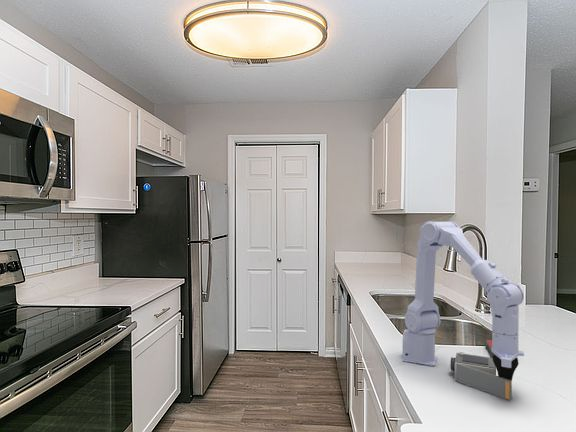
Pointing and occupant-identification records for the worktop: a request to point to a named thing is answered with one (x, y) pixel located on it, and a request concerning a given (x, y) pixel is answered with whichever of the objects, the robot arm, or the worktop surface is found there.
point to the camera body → (474, 362)
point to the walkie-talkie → (489, 347)
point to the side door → (484, 381)
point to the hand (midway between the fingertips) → (505, 386)
